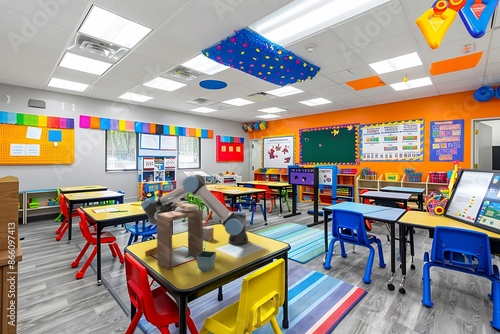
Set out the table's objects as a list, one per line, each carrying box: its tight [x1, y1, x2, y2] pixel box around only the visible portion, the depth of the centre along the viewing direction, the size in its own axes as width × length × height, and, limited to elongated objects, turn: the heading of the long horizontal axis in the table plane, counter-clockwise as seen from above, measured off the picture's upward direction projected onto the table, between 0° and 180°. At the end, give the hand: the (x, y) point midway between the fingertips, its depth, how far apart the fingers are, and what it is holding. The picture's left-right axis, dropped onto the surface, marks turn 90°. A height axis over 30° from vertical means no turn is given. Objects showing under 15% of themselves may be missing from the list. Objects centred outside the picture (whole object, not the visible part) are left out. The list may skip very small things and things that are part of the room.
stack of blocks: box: [203, 220, 214, 242], centre depth 194 cm, size 21×6×12 cm, turn 45°
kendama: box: [144, 246, 157, 256], centre depth 164 cm, size 6×6×20 cm
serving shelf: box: [156, 209, 204, 271], centre depth 146 cm, size 24×14×30 cm, turn 140°
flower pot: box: [195, 250, 217, 273], centre depth 134 cm, size 9×9×9 cm
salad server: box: [169, 201, 199, 210], centre depth 154 cm, size 26×7×2 cm, turn 50°
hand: (177, 200), depth 156 cm, fingers closed on salad server, 2 cm apart
